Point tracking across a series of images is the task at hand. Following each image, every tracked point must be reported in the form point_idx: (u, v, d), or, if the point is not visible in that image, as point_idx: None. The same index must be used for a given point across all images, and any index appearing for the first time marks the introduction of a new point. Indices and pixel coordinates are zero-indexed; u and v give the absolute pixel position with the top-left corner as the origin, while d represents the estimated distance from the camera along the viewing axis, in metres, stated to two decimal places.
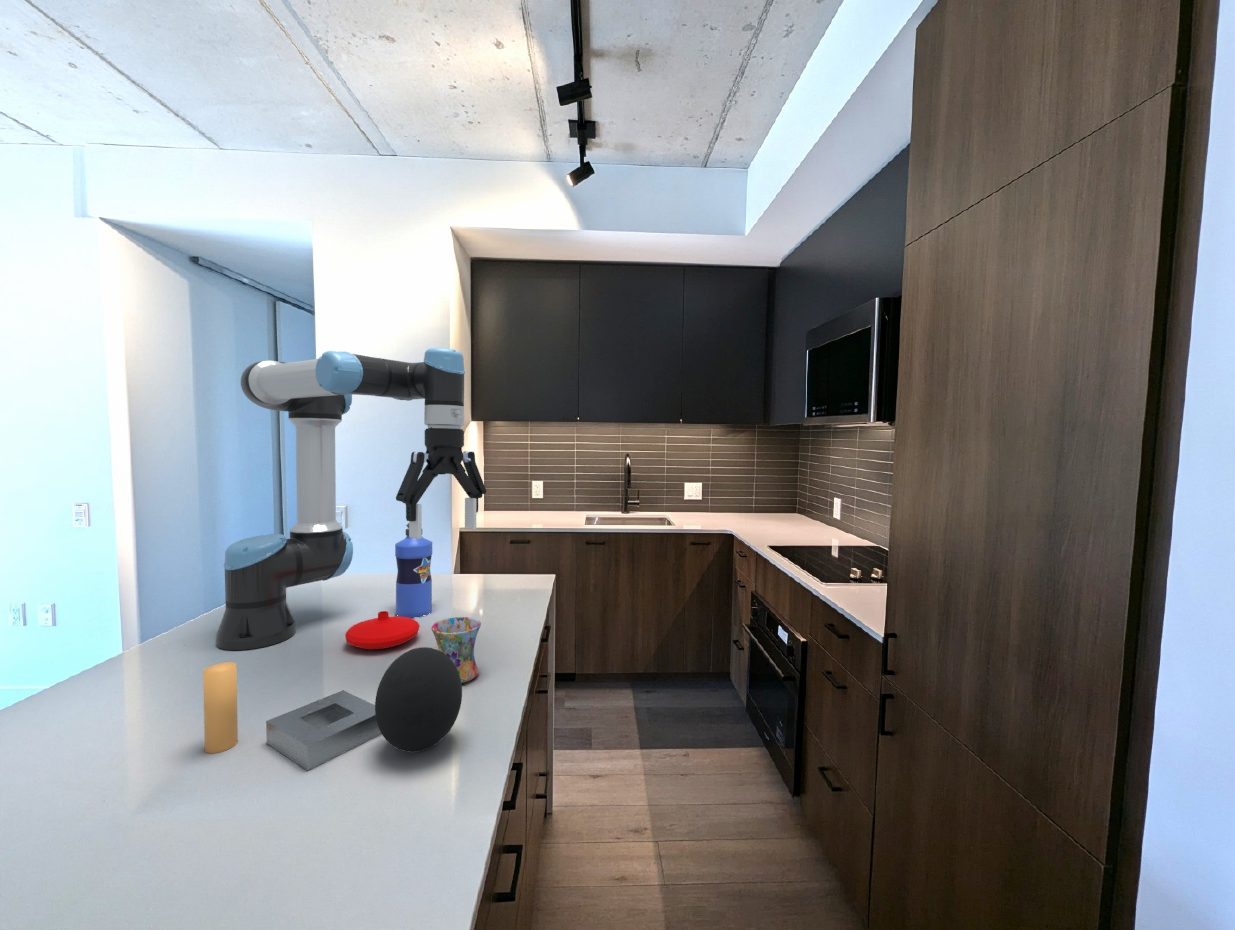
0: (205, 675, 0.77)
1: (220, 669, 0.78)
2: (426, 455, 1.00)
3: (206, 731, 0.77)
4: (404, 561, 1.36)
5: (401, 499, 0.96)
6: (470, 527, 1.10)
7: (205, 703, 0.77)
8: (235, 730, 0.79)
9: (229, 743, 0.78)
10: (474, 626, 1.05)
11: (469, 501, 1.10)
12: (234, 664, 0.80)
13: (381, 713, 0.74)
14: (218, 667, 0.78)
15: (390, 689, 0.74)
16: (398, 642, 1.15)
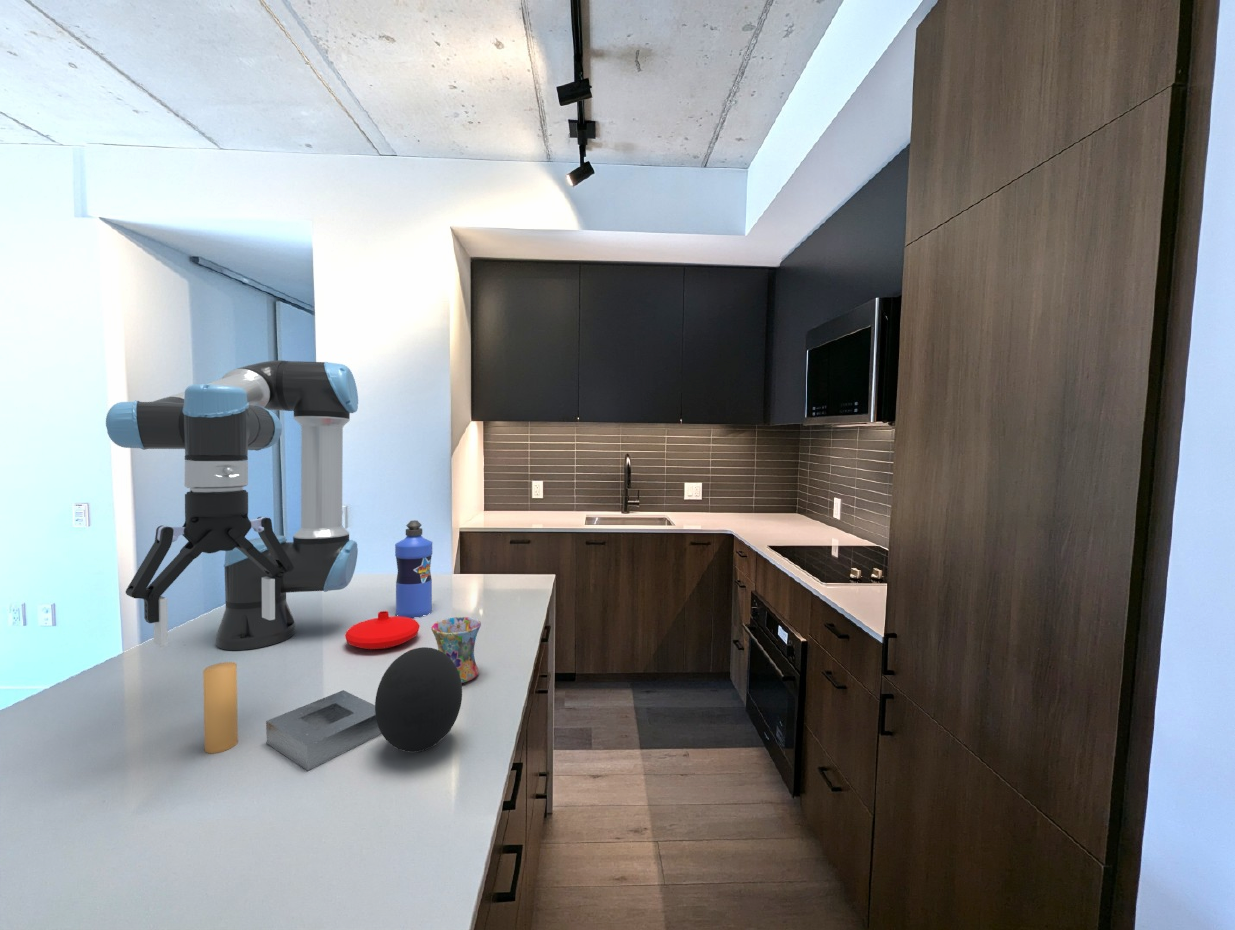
0: (205, 675, 0.77)
1: (220, 669, 0.78)
2: (180, 530, 0.74)
3: (206, 731, 0.77)
4: (404, 561, 1.36)
5: (130, 595, 0.69)
6: (267, 617, 0.84)
7: (205, 703, 0.77)
8: (235, 730, 0.79)
9: (229, 743, 0.78)
10: (474, 626, 1.05)
11: (265, 582, 0.84)
12: (234, 664, 0.80)
13: (381, 713, 0.74)
14: (218, 667, 0.78)
15: (390, 689, 0.74)
16: (398, 642, 1.15)
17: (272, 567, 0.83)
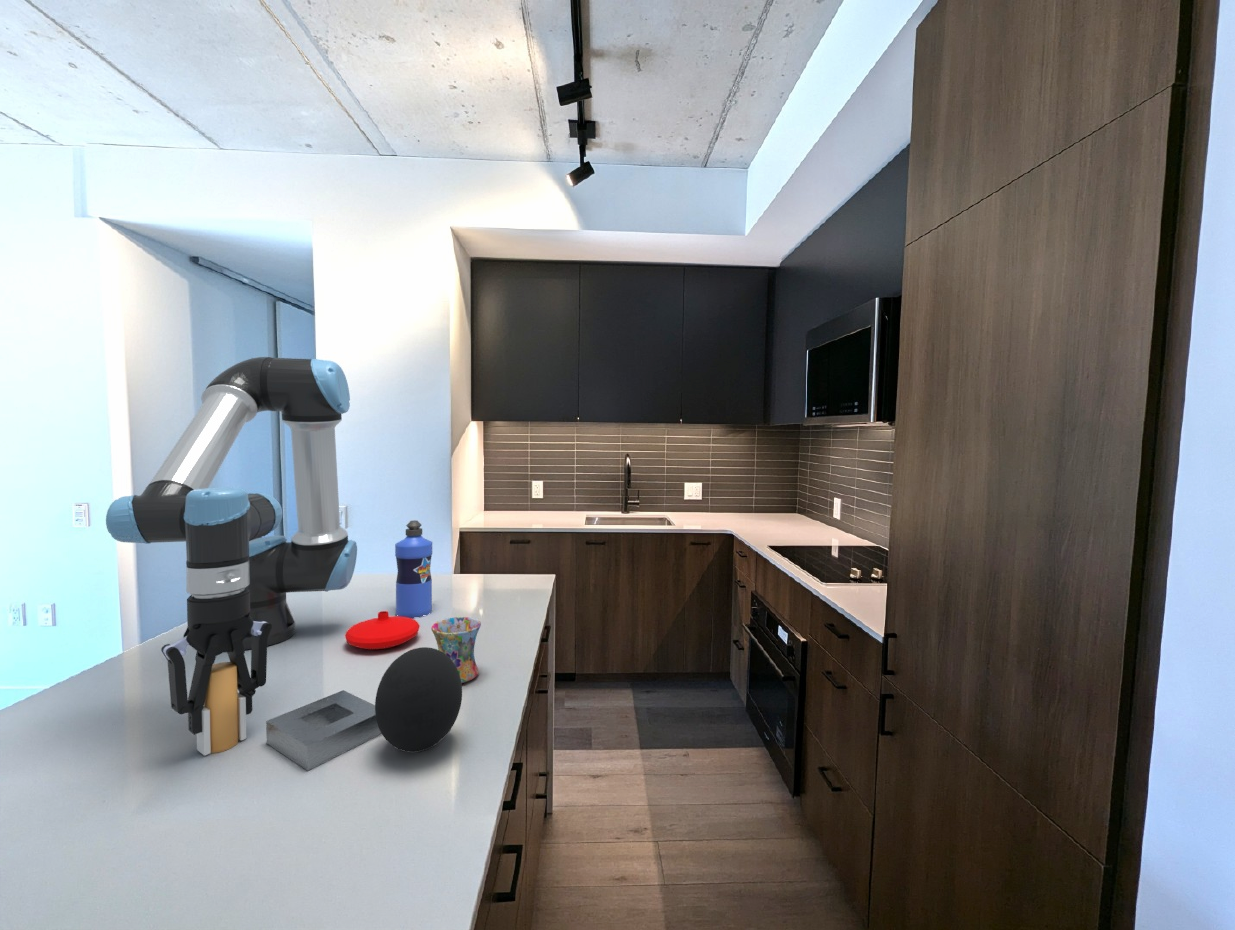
0: None
1: (221, 669, 0.78)
2: (183, 643, 0.74)
3: None
4: (404, 561, 1.36)
5: (176, 710, 0.74)
6: None
7: (206, 703, 0.77)
8: (236, 730, 0.79)
9: (230, 743, 0.78)
10: (474, 626, 1.05)
11: None
12: None
13: (381, 713, 0.74)
14: (218, 667, 0.78)
15: (390, 689, 0.74)
16: (398, 642, 1.15)
17: (248, 682, 0.81)
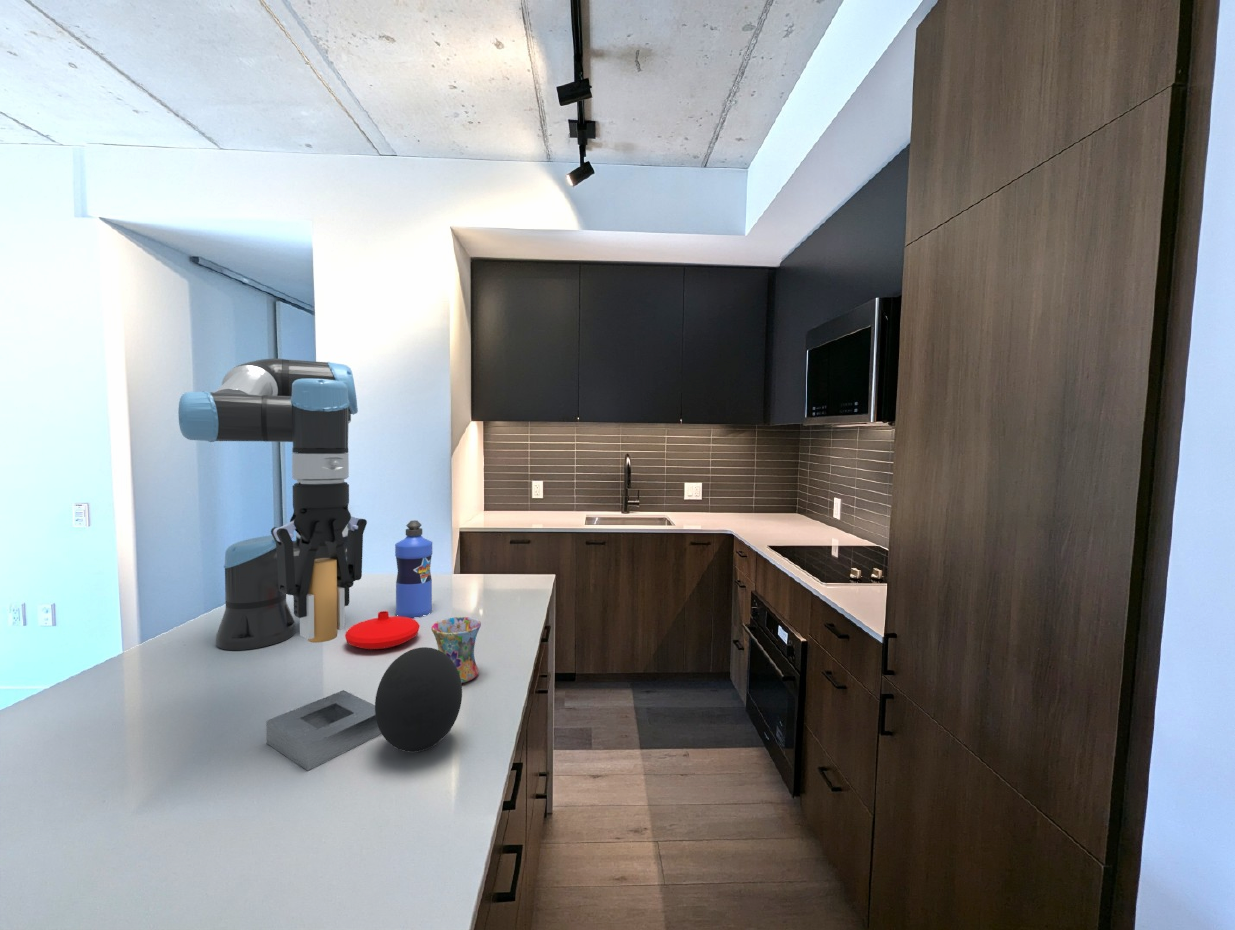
0: None
1: (323, 561, 0.80)
2: (291, 526, 0.76)
3: None
4: (404, 561, 1.36)
5: (284, 592, 0.75)
6: None
7: (309, 593, 0.79)
8: (336, 623, 0.81)
9: (331, 634, 0.80)
10: (474, 626, 1.05)
11: None
12: (334, 559, 0.81)
13: (381, 713, 0.74)
14: (319, 560, 0.80)
15: (390, 689, 0.74)
16: (398, 642, 1.15)
17: (346, 574, 0.82)
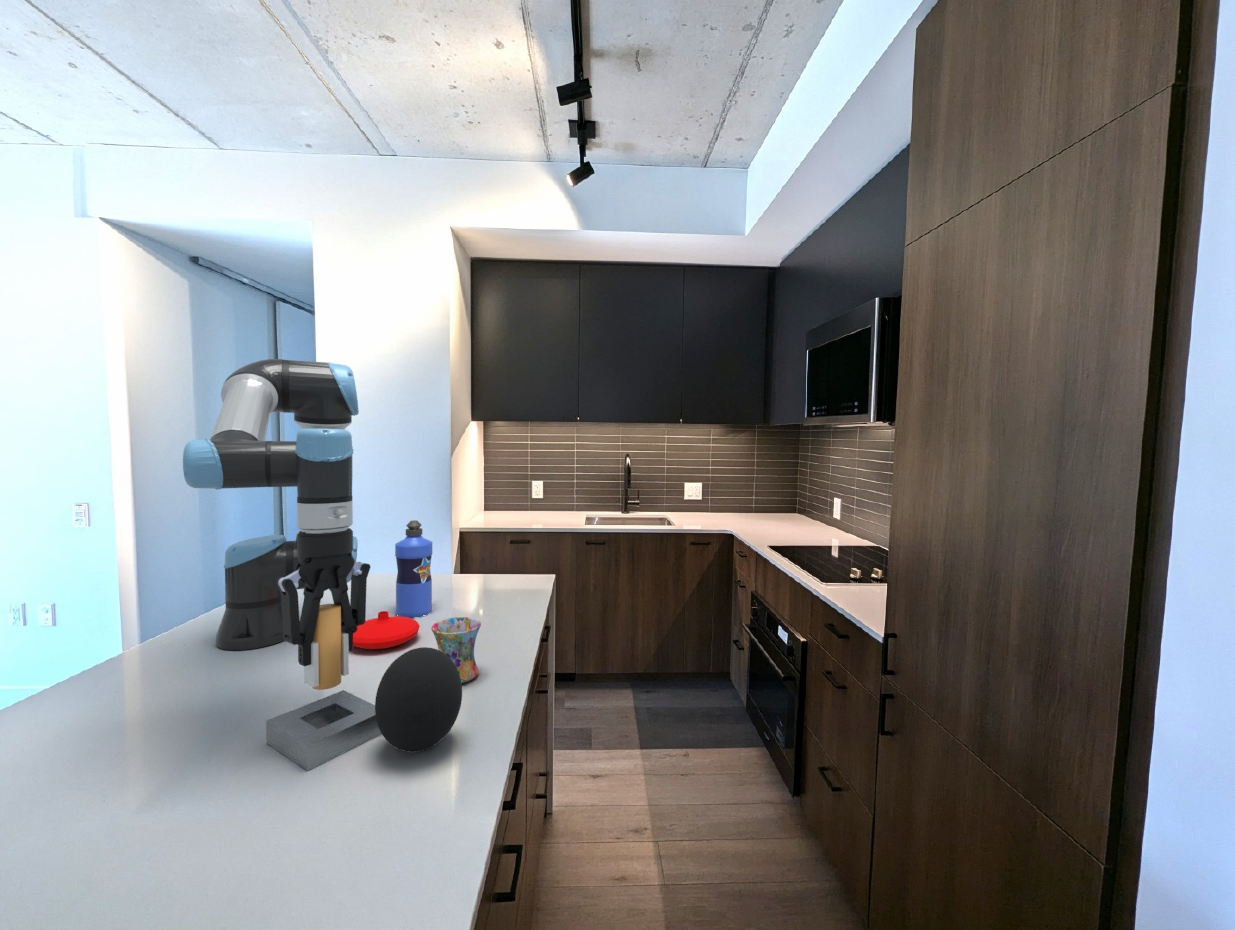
0: None
1: (327, 608, 0.80)
2: (296, 575, 0.76)
3: None
4: (404, 561, 1.36)
5: (289, 641, 0.76)
6: None
7: (314, 641, 0.79)
8: (340, 669, 0.81)
9: (335, 681, 0.80)
10: (474, 626, 1.05)
11: None
12: (338, 605, 0.82)
13: (381, 713, 0.74)
14: (324, 607, 0.81)
15: (390, 689, 0.74)
16: (398, 642, 1.15)
17: (350, 619, 0.83)
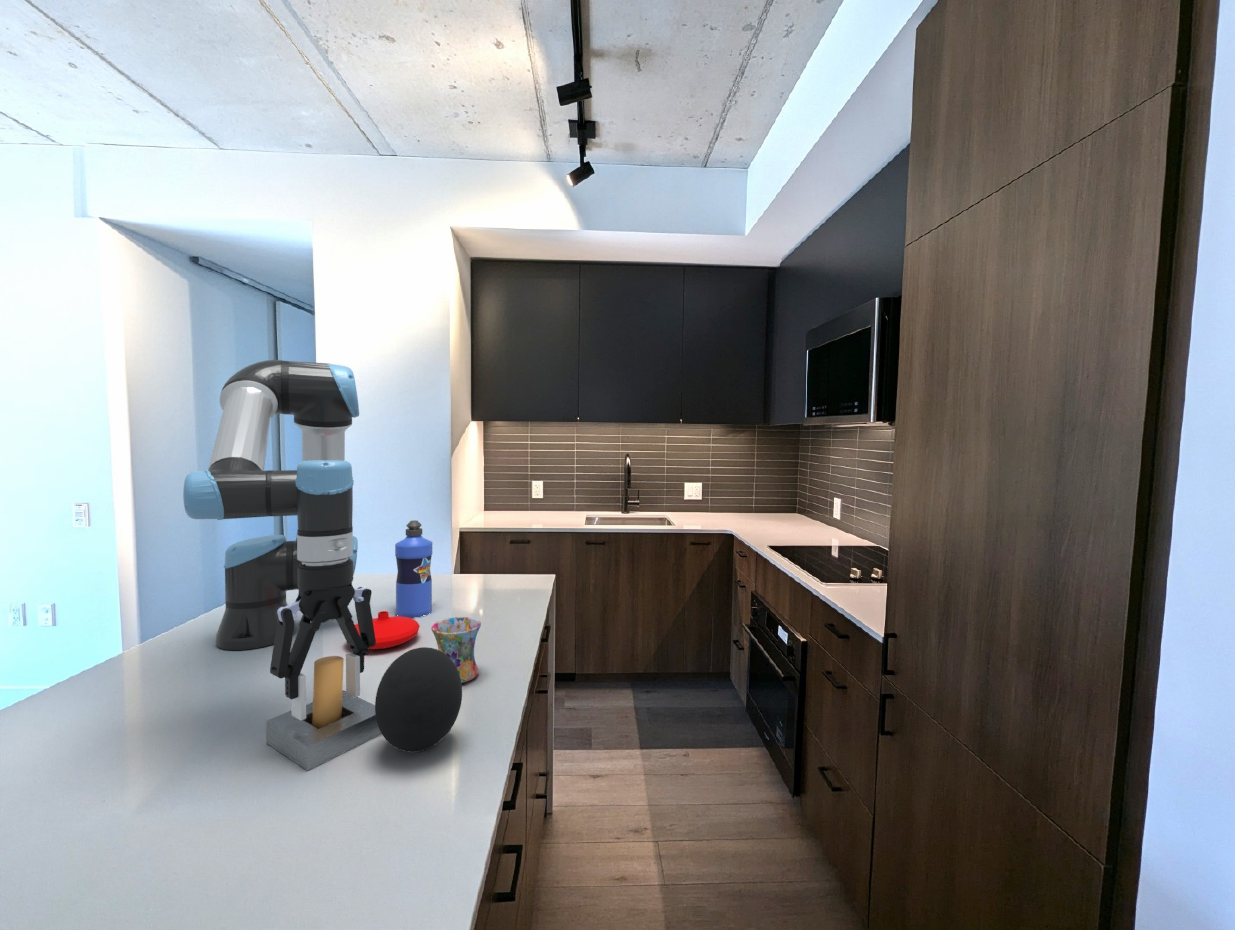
0: (316, 667, 0.80)
1: (330, 662, 0.81)
2: (296, 606, 0.76)
3: (315, 722, 0.80)
4: (404, 561, 1.36)
5: (275, 675, 0.74)
6: (352, 693, 0.84)
7: (315, 695, 0.80)
8: None
9: None
10: (474, 626, 1.05)
11: (350, 660, 0.84)
12: (341, 658, 0.83)
13: (381, 713, 0.74)
14: (327, 660, 0.81)
15: (390, 689, 0.74)
16: (398, 642, 1.15)
17: (360, 643, 0.84)
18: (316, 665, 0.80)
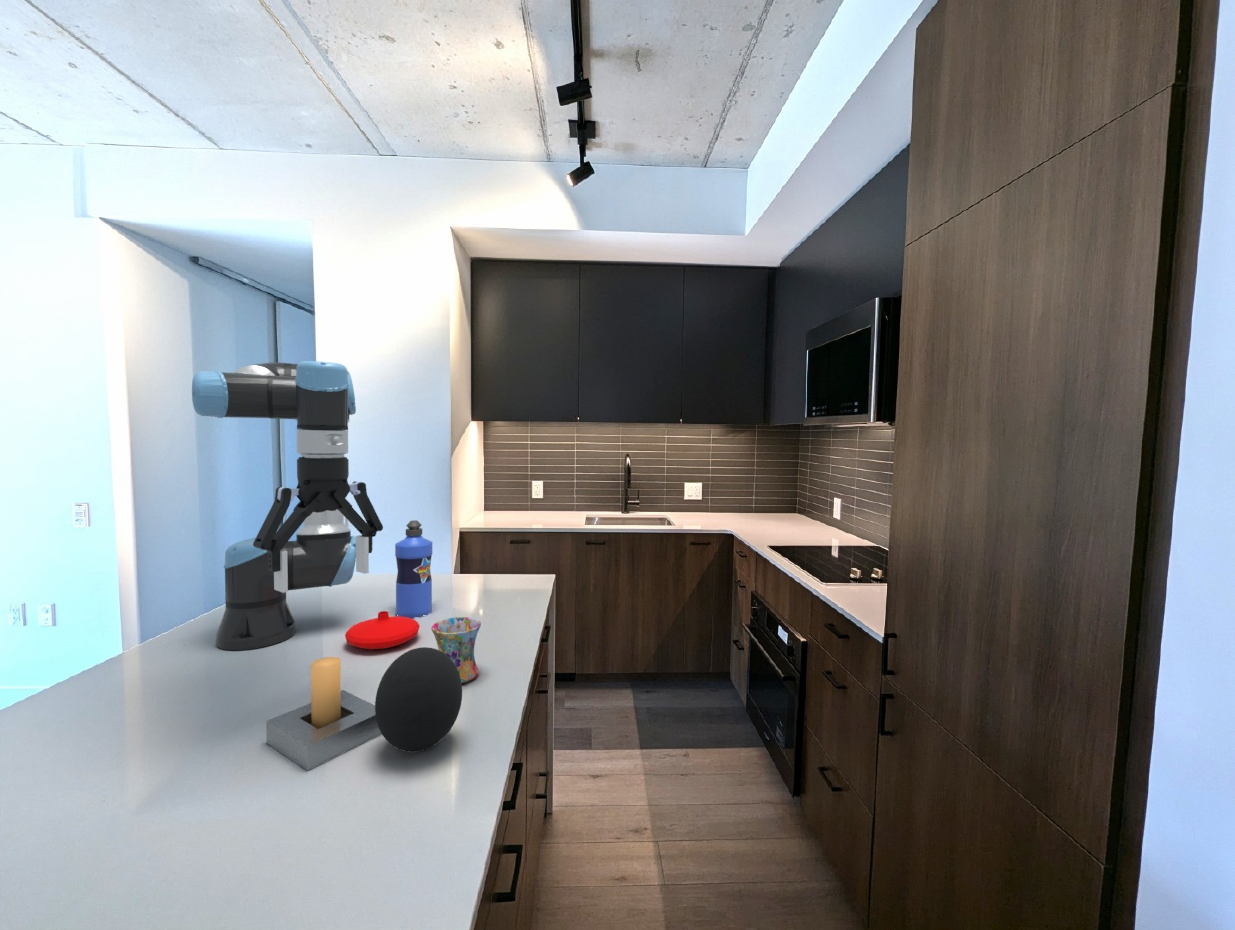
0: (313, 669, 0.79)
1: (327, 663, 0.80)
2: (295, 491, 0.83)
3: (314, 723, 0.80)
4: (404, 561, 1.36)
5: (258, 546, 0.79)
6: (361, 571, 0.94)
7: (313, 696, 0.79)
8: None
9: None
10: (474, 626, 1.05)
11: (360, 540, 0.93)
12: (338, 659, 0.82)
13: (381, 713, 0.74)
14: (323, 662, 0.81)
15: (390, 689, 0.74)
16: (398, 642, 1.15)
17: (366, 526, 0.93)
18: (313, 667, 0.79)
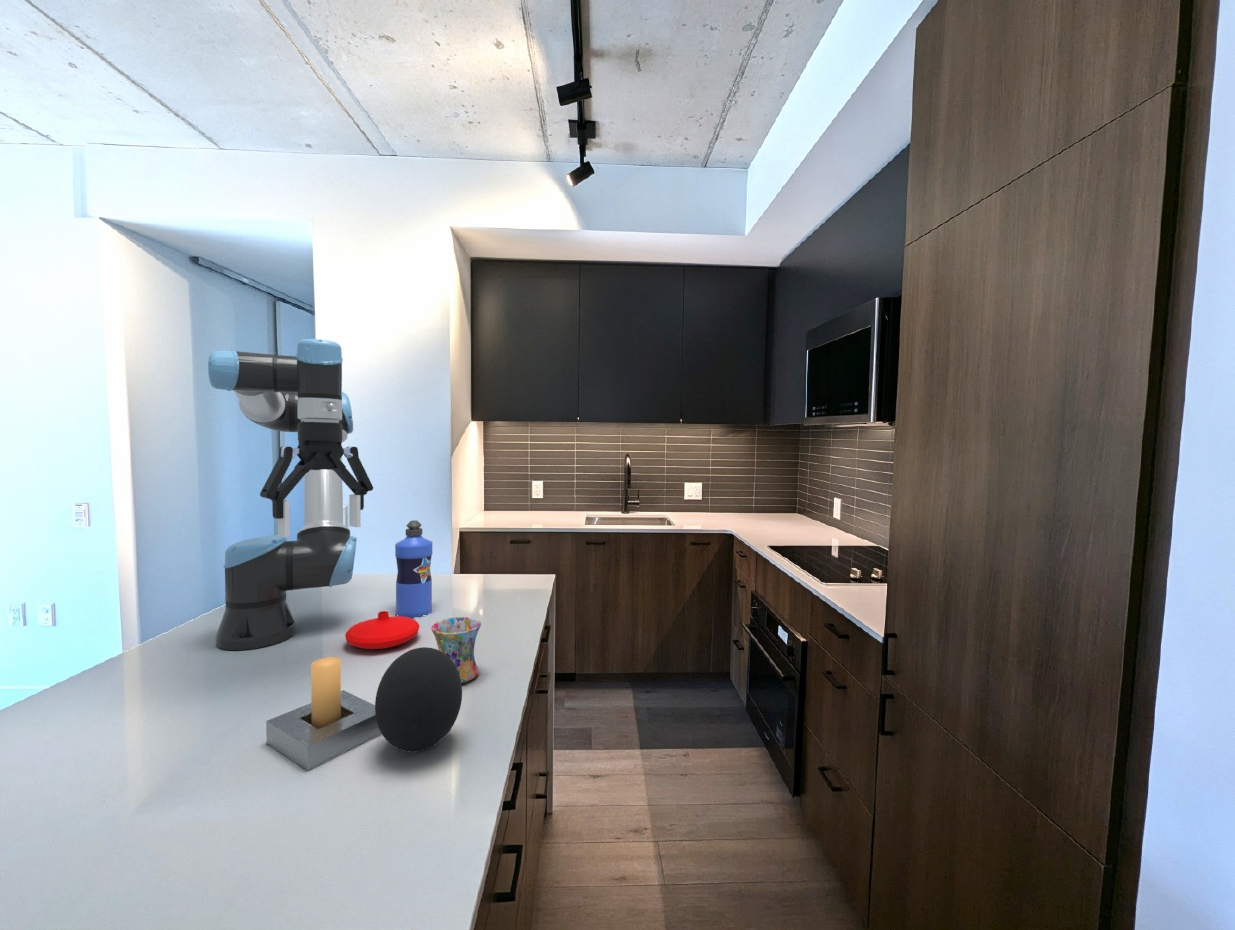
0: (313, 669, 0.79)
1: (327, 663, 0.80)
2: (296, 450, 0.97)
3: (314, 723, 0.80)
4: (404, 561, 1.36)
5: (264, 495, 0.92)
6: (354, 525, 1.07)
7: (313, 696, 0.79)
8: None
9: None
10: (474, 626, 1.05)
11: (353, 498, 1.06)
12: (338, 659, 0.82)
13: (381, 713, 0.74)
14: (324, 662, 0.81)
15: (390, 689, 0.74)
16: (398, 642, 1.15)
17: (358, 486, 1.06)
18: (313, 667, 0.79)
